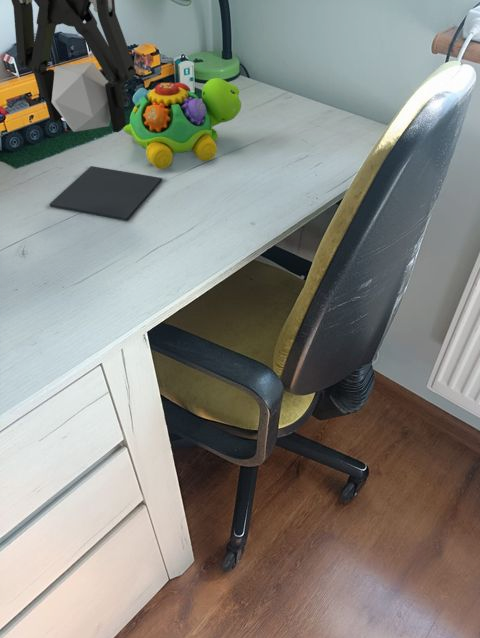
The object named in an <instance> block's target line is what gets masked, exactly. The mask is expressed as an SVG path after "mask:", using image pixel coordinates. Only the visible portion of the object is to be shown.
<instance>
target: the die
mask: <svg viewBox="0 0 480 638" xmlns="http://www.w3.org/2000/svg"><path fill="white" fill-rule="evenodd" d="M108 82H109V80H107V79H106V77H105V76H104V75H103V73H102V72H101V71H100V69H99V68H98V66H97V65H96V64H95V62H94V61H89V62H80V63H72V64H65V65H56V66H54V82H53V92H52V101H51V103H52V104H53V105H54V107H55V108H56V109H57V111H58V112H59V113H60V115H61V116H62V119H63V120H64V121H65V123H66V124H67V126H68V127H69V128H70V129H71V131H72V132H73V133H75V132H76V133H77V132H82V131H88V130H94V129H100V128H106V127H110V123H111V116H110V110H109V105H108V99H107V94H106V88H105V84H106V83H108Z"/></svg>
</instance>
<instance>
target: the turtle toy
mask: <svg viewBox="0 0 480 638" xmlns="http://www.w3.org/2000/svg"><path fill="white" fill-rule="evenodd" d="M239 95H240V89H239V88H238V86H236V85H235V84H233V83H230V82H228V81H226V80H225V79H223V78H218V77H214V78H211V79H209V80H207V81H206V82H205V83H204V85H203V87H202V90H201V99H200V98H199V96H198V95H196V93H194V92H192V91H191V88H190V87H189V86H188V85H187V84H186V83H183V82H176V83H174V82H163V81H162V82H160V83H158V84H157V85H156V87H154V88H153V89H148V90H147V89H146V88H144V87H140V88H138V89H137V90H136V91H135V93H134V94H133V96H132V102H133V104H134V107H133V109H132V111H131V113H130V116H129V123H128V124H126V126H125V127H124V128H123V131H124V132H125V133H126V134H128V135H129V136H131V137H132V139H133V140H134V142H136V143H137V144H138V145H139V146H141V147H142V149H144V150H146V151H145V154H146V158H147V160H148V162H149V163H151V165H152V166H153V167H155V168H156V169H160V170H163V169H166V168H168V167H169V166H171V165H172V162H173V160H174V157H173V155H174V154H181V153H186V152H189V151H192V153H193V154H194V155H195V156H196V158H197V159H199V160H200V161H203V162H208V161H211V160H212V159H214V158H215V156H216V155H217V152H218V147H217V144H216V141H218V139H219V135H218V132H217V130H216V129H214V128H213V127H215V126H217V125H220V124H222V123H227V122H229V121H232V120H234V119H235V118H236V116H238V115H239V113H240V111H241V109H242V100H241V99H240V97H239Z"/></svg>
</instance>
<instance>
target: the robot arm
mask: <svg viewBox="0 0 480 638" xmlns="http://www.w3.org/2000/svg"><path fill="white" fill-rule="evenodd" d="M10 1H11V5H12V7H13V18H14V19H13V20H14V31H15V44H16V46H15V47H16V58H17V59H16V60H17V64H18V66H19V67H21V68H27V69H29V70H30V71H31V72H32V73H33V75H34V79H35V83H36V86H37V89H38V93H39V95H40V96H41V97H43V98H44V101H45V104H46V109H47V113H48V116H49V120H50V122H51V123H57V122H58V121H59V120H61V119H63V117H62V116H61V115H60V113H59V112H58V111H57V109H56V108H55V107H54V105H53V104H52V103H51V101H52V92H53V82H54V73H55V69H51V68H50V67H51V64H49V62H50V57H51V52H52V48H53V42H54V38H55V34H56V28H57V26H59V25H64V26H67V27H72V28H74V29H75V31H76V33H77V34H78V35H81V37H82V38H83V40H84V42H85V43H86V45H87V47H88V48H89V50H90V52H91V53H92V55H93V56H94V58H95V60H96V61H97V63H98V65H99V67H100V68H101V70H102V72H103V73H104V75H105V76H106V78H107V79H108V80H107V81H108V83H106V84H105V88H106V94H107V99H108V105H109V110H110V116H111V119H110V122H111V125H112V132H114V133H119V132H121V131H122V130H124V127H125V126H126V125H127V121H126V114H125V108H124V107H125V106H127V104H128V97H127V89H126V84H125V82H128V81H129V80H131V78H133V77H134V76H136V75H137V69H136V66H135V63H134V61H133V58H132V55H131V52H130V51H129V47H128V44H127V42H126V39H125V35H124V33H123V30H122V27H121V24H120V22H119V20H118V19H119V18H118V16H117V13H116V4H115V2H116V1H115V0H10ZM33 1H34V3H35V4H36V6H38V11H37V15H36V25H37V28H36V33H35V27H34V8H33ZM91 5H93V11H94V12H95V13H97V17H98V21H99V24H100V26H101V30H102V32H103V34H102V32H101V30H100V28H99V27H98V21H97V19H96V17H95V16H94V14H93V12H92V11H91V8H90V7H91ZM48 68H49V69H48Z"/></svg>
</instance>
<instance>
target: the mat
mask: <svg viewBox="0 0 480 638" xmlns="http://www.w3.org/2000/svg"><path fill="white" fill-rule="evenodd" d="M162 182H163V178H162V177H158V176H152V175H147V174H140V173H135V172H129V171H122V170H116V169H111V168H106V167H99V166H93V165H91V166H90V167H88V168H87V169H86V170H85V171H84V172H83V173H81V175H80V176H78V177H77V178H76V179H75V180H74V181H73V182H72V183H71V184H70V185H69V186H67V187H66V188H65V189H64V190H63V191H62V192H61V193H60V194H58V196H56V197H55V198H54V199H53V200H52V201H51V202H49V207H50V208H56V209H62V210H67V211H71V212H78V213H82V214H89V215H94V216H97V217H98V216H100V217H104V218H110V219H115V220H120V221H125V222H128V221H129V220H130V219H131V218H132V216H133V215H134V214H135V213H136V211H137V210H139V208H140V207H141V206H142V205H143V204H144V203H145V201H146V200H147V199H148V198H149V196H151V195H152V193H153V192H154V191H155V190H156V188H157V187H158V186H159V185H160V184H161V183H162Z"/></svg>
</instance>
